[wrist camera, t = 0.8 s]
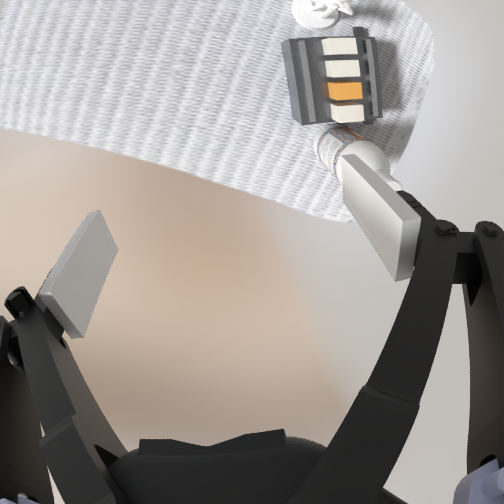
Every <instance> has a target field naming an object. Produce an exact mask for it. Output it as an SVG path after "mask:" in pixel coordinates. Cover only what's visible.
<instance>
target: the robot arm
mask: <svg viewBox="0 0 504 504" xmlns="http://www.w3.org/2000/svg"><path fill="white" fill-rule="evenodd" d="M341 166H342V182H343V202H344V204H345V205H346V207H347V208H348V209H349V211H350V212H351V214H352V215H353V217H354V218H355V220H356V221H357V223H358V224H359V226H360V227H361V229H362V230H363V231H364V233H365V235H366V236H367V238H368V239H369V241H370V242H371V244H372V245H373V247H374V248H375V250H376V252H377V253H378V255H379V256H380V258H381V259H382V261H383V263H384V264H385V266H386V268H387V269H388V271H389V272H390V274H391V276H392V277H393V279H394V281H395V282H397V281H401V280H404V279H408V278H411V279H410V282H409V285H408V288H407V291H406V293H405V296H404V299H403V301H402V304H401V307H400V309H399V312H398V314H397V317H396V319H395V322H394V324H393V327H392V329H391V332H390V334H389V336H388V339H387V341H386V343H385V346H384V348H383V350H382V352H381V355H380V357H379V359H378V361H377V364H376V365H375V367H374V370H373V372H372V374H371V376H370V378H369V380H368V382H367V383H366V385H365V386H363V387H362V388H361V390H360V392H359V393H358V395H357V397H356V399H355V401H354V402H353V404H352V406H351V408H350V410H349V412H348V413H347V415H346V417H345V418H344V420H343V422H342V424H341V425H340V427H339V429H338V430H337V432H336V434H335V436H334V437H333V439H332V440H331V442H330V444H329V445H328V447H327V448H326V447H325V446H323V445H321V444H318V443H316V442H314V441H310V440H306V439H303V438H297V437H286V434H285V431H284V429H279V430H272V431H266V432H259V433H251V434H244V435H242V436H239V437H236V438H233V439H230V440H227V441H224V442H221V443H218V444H215V445H212V446H200V445H195V444H190V443H185V442H181V441H177V440H172V439H140V442H139V448H138V449H135V450H132V451H130V452H128V451H127V450H126V449H125V447H124V446H123V445H122V443H121V442H120V440H119V439H118V437H117V436H116V434H115V433H114V431H113V429H112V428H111V426H110V425H109V423H108V421H107V420H106V418H105V416H104V415H103V413H102V411H101V409H100V408H99V406H98V404H97V402H96V401H95V399H94V397H93V395H92V393H91V391H90V390H89V388H88V386H87V384H86V382H85V380H84V378H83V376H82V374H81V372H80V370H79V368H78V366H77V364H76V362H75V360H74V358H73V356H72V353H71V351H70V349H69V347H68V344H67V342H66V341H65V340H64V338H63V337H62V334H63V332H64V330H65V331H66V333H67V334H68V335H69V336H70V337H71V338H72V339H73V338H83V337H84V336H85V333H86V330H87V327H88V324H89V321H90V319H91V316H92V313H93V310H94V308H95V305H96V303H97V300H98V297H99V295H100V292H101V290H102V287H103V284H104V282H105V280H106V277H107V275H108V272H109V270H110V268H111V265H112V263H113V261H114V258H115V256H116V254H117V252H118V248H117V246H116V243H115V242H114V239H113V237H112V235H111V233H110V231H109V229H108V227H107V225H106V222H105V220H104V218H103V216H102V214H101V212H100V210H97V211H93V212H90V213H88V215H87V216H86V218H85V219H84V220H83V222H82V223H81V225H80V227H79V228H78V229H77V231H76V232H75V234H74V235H73V237H72V238H71V240H70V241H69V243H68V244H67V246H66V247H65V249H64V251H63V252H62V254H61V255H60V257H59V259H58V260H57V262H56V264H55V265H54V267H53V268H52V270H51V271H50V272H49V274H48V276H47V279H46V280H45V281H44V283H43V285H42V286H41V288H40V290H39V292H38V293H37V296H36V297H35V299H34V300H33V298H32V297H31V296H30V294H29V293H28V291H27V290H26V288H25V287H23V286H21V287H18V288H17V289H15V290H13V291H12V292H11V293H10V294H9V296H8V297H7V298H6V300H5V303H4V305H5V307H6V308H7V309H8V311H9V312H10V313H11V315H12V316H13V317H14V318H15V320H13V321H11V322H8V321H7V320H6V319H5V318H4V317H3V316H0V504H54V496H53V493H52V487H51V482H50V478H49V473H48V468H49V471H50V473H51V475H52V477H53V480H54V482H55V484H56V486H57V488H58V490H59V492H60V495H61V496H62V499H63V501H64V502H65V504H408V503H406V502H404V501H403V500H401V499H400V498H398V497H396V496H395V495H393V494H392V493H390V492H389V491H387V490H386V489H384V488H383V486H384V484H385V482H386V481H387V479H388V477H389V475H390V473H391V471H392V469H393V467H394V465H395V463H396V461H397V459H398V457H399V455H400V453H401V451H402V449H403V447H404V444H405V442H406V440H407V438H408V435H409V433H410V431H411V429H412V426H413V424H414V421H415V419H416V416H417V414H418V410H419V407H420V405H419V403H420V399H421V396H422V394H423V391H424V388H425V385H426V382H427V379H428V377H429V373H430V370H431V367H432V364H433V361H434V357H435V354H436V351H437V347H438V344H439V340H440V336H441V332H442V329H443V325H444V321H445V316H446V311H447V308H448V303H449V298H450V293H451V288H452V284H462V288H463V294H464V302H465V309H466V318H467V328H468V339H469V356H470V418H469V419H470V420H469V433H468V445H467V476H465V477H464V478H463V479H462V480H461V481H460V483H459V484H458V485H457V488H456V490H455V493H454V499H453V504H504V231H503V230H502V229H501V228H500V227H499V226H498V225H497V224H495V223H493V222H488V221H481V222H478V223H477V224H476V226H475V231H474V232H459V229H458V228H457V227H456V225H454V224H453V223H451V222H448V221H446V220H437V219H436V218H435V217H434V216H433V215H432V214H431V213H430V212H429V211H428V210H427V209H426V208H425V207H423V206H422V205H421V203H420V202H418V201H417V200H416V199H415V198H414V197H413V196H412V195H411V194H409V193H407V192H405V191H403V190H400V191H394V190H393V189H392V188H391V187H390V186H389V185H388V184H387V183H386V182H385V181H384V180H383V179H382V178H381V177H380V176H379V175H378V174H377V173H375V172H374V171H373V170H372V169H371V168H370V167H369V166H368V165H367V164H366V163H364V162H363V161H362V160H361V159H360V158H359V157H358V156H357V155H355V154H348V155H341ZM414 266H415V267H414ZM413 268H414V270H413ZM9 360H10V361H11V362H12V363H13V365H12V364H11V362H10V361H9ZM40 422H41V425H42V427H43V430H44V432H45V436H44V437H42V433H41V425H40ZM47 466H48V468H47Z"/></svg>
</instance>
